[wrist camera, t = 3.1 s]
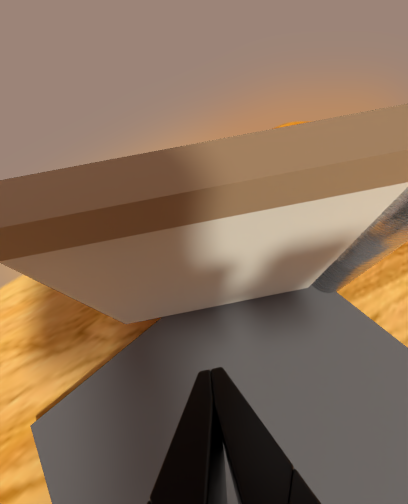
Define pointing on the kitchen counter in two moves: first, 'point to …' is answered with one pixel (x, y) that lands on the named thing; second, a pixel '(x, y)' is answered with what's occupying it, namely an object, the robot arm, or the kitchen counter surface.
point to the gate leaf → (206, 215)
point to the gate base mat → (255, 392)
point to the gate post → (368, 247)
